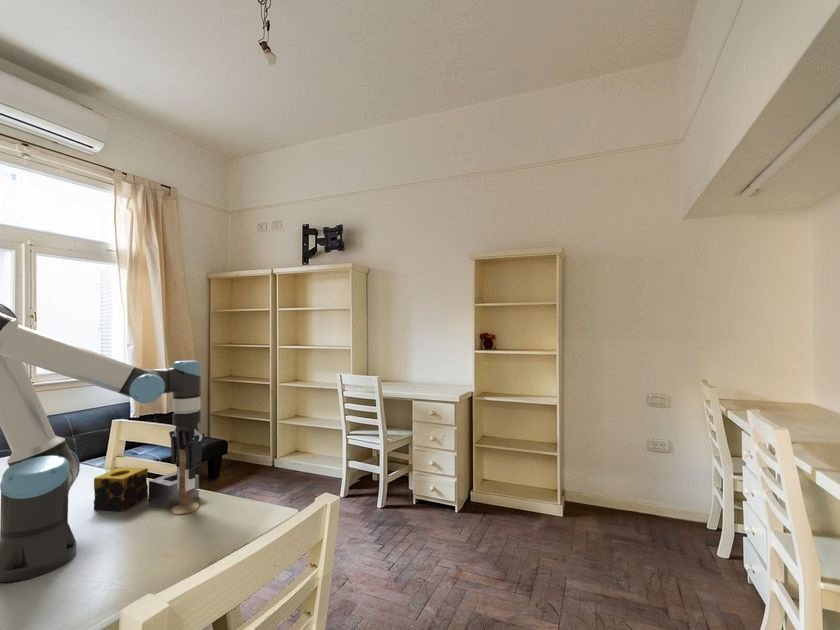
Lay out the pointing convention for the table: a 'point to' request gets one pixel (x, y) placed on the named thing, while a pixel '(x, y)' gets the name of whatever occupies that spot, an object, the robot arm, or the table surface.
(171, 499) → the box
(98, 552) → the table surface
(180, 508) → the coaster
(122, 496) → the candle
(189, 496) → the dowel
